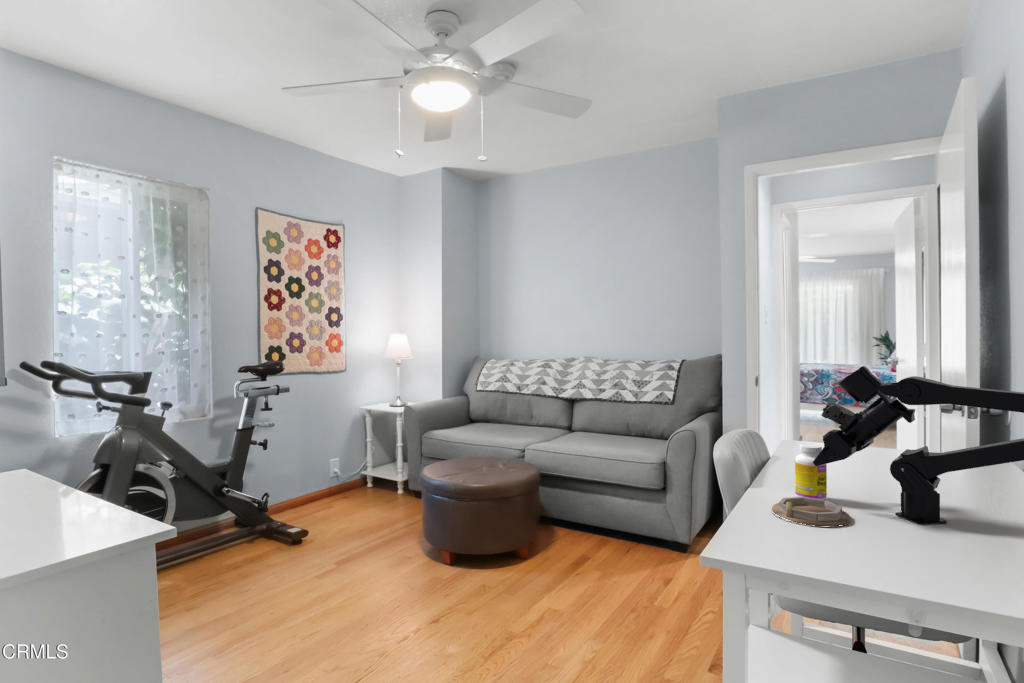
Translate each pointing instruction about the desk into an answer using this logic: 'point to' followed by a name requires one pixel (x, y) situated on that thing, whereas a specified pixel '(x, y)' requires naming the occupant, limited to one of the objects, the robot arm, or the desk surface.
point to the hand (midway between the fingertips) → (821, 461)
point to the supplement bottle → (810, 474)
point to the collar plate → (811, 511)
